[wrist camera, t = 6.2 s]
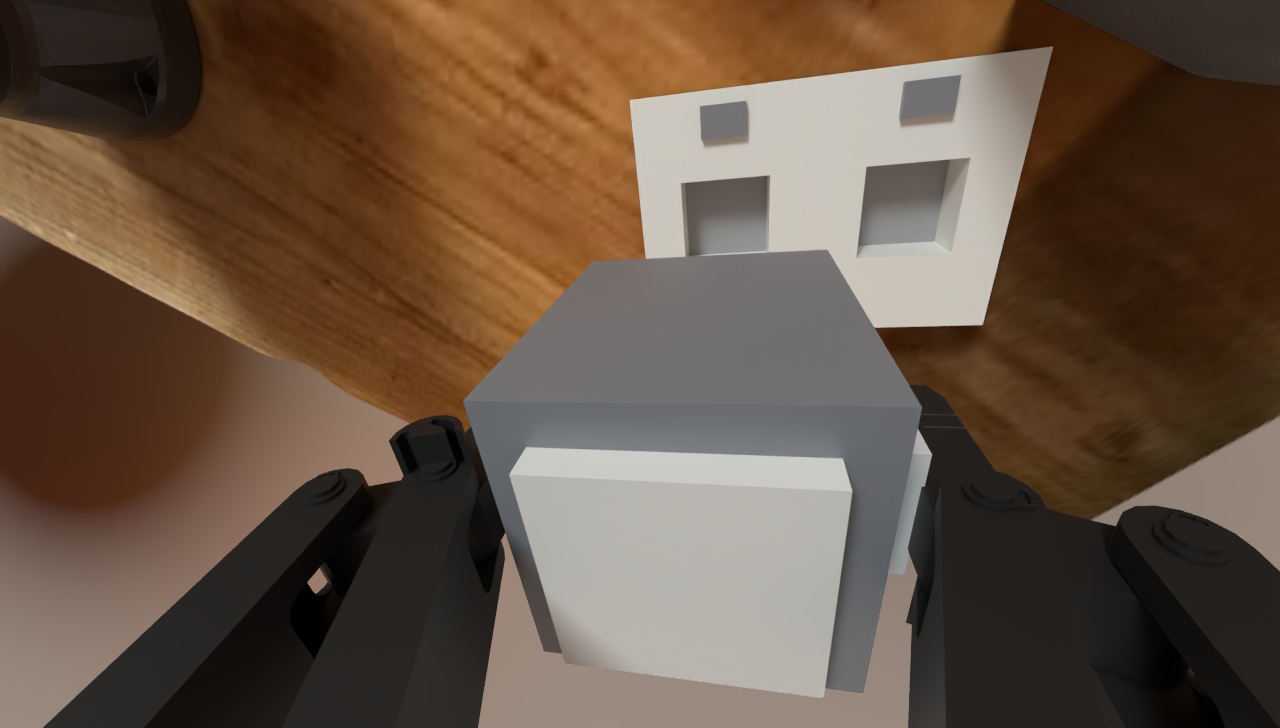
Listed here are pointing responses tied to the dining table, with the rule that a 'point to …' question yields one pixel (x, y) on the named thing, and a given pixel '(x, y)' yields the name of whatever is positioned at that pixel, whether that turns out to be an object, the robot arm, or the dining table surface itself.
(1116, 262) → the dining table surface
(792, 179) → the socket plate
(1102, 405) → the dining table surface
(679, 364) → the plug
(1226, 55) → the grey hexagonal prism
